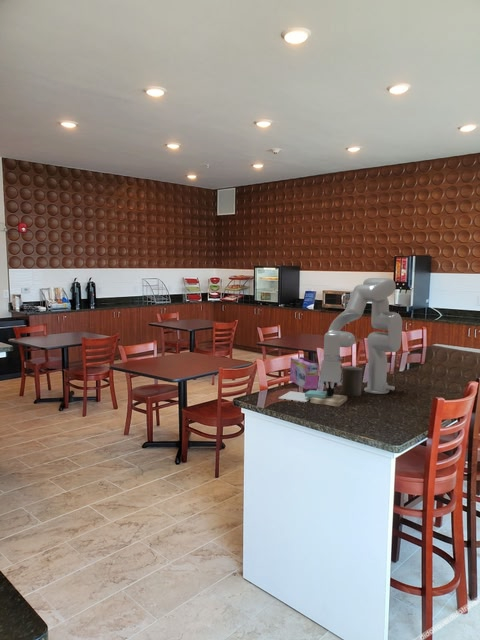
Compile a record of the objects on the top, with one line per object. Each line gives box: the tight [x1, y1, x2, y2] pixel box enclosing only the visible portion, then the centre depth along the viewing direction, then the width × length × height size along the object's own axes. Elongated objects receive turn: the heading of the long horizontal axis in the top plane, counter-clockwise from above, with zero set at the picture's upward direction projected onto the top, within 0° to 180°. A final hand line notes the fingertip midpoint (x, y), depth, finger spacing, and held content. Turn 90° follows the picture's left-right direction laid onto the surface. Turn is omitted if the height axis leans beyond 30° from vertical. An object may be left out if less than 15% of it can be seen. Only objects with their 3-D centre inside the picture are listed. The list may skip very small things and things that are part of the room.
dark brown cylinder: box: [341, 365, 363, 397], centre depth 249 cm, size 10×10×15 cm
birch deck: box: [309, 393, 348, 407], centre depth 234 cm, size 14×14×2 cm
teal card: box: [304, 389, 328, 398], centre depth 237 cm, size 10×8×2 cm
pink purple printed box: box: [289, 356, 320, 390], centre depth 271 cm, size 24×8×14 cm, turn 16°
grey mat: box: [278, 390, 312, 403], centre depth 242 cm, size 14×16×1 cm
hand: (330, 395), depth 234 cm, fingers closed
